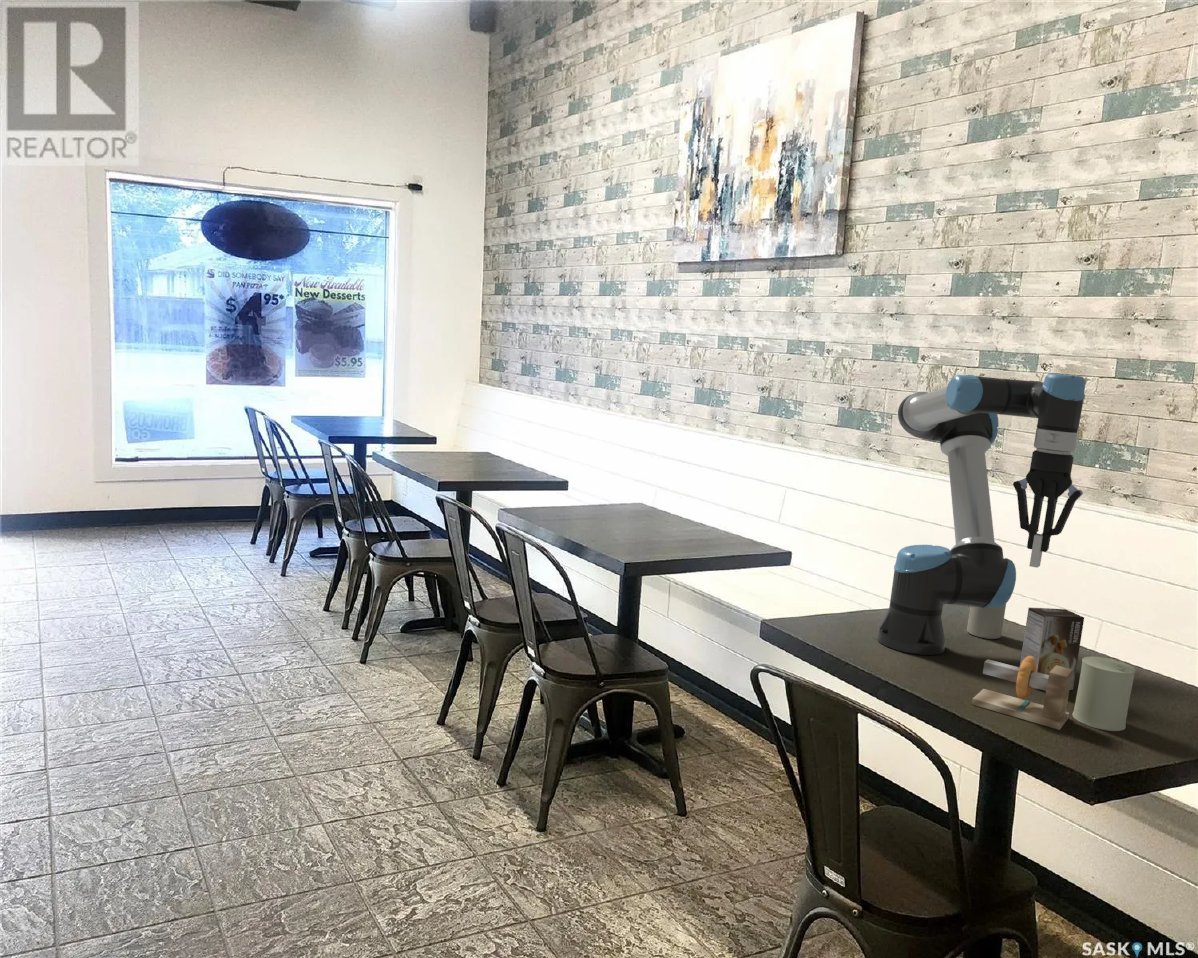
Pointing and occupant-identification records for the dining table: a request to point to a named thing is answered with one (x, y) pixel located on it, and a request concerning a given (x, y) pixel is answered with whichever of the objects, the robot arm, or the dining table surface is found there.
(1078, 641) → the coffee box
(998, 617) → the travel mug
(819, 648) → the dining table surface
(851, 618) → the dining table surface
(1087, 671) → the can
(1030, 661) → the ring
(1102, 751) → the dining table surface
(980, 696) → the pipe stand
